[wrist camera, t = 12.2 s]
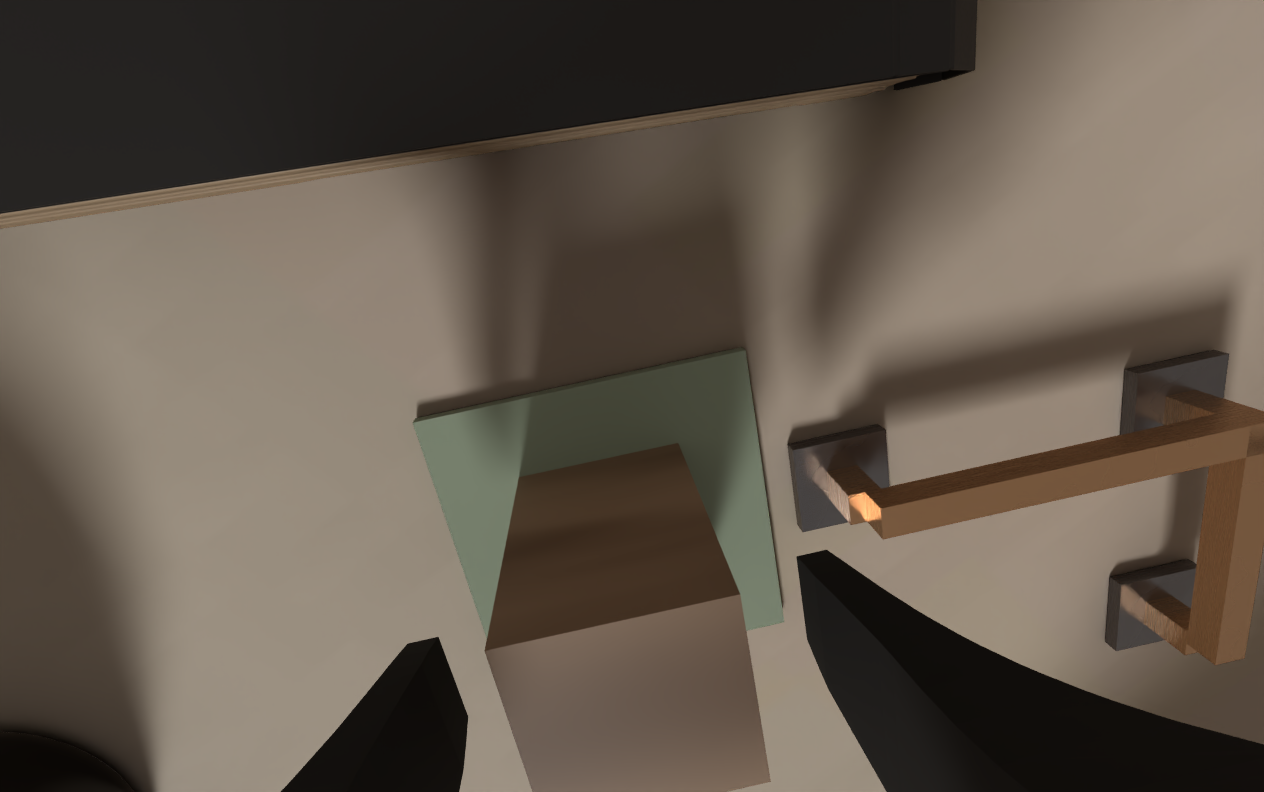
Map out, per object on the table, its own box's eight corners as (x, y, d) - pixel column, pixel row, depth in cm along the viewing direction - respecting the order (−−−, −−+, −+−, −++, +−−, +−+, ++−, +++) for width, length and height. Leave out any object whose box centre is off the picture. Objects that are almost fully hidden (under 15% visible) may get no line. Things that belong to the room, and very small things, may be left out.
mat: (780, 615, 17) (784, 621, 17) (504, 677, 17) (502, 685, 17) (742, 347, 15) (745, 350, 14) (415, 418, 15) (412, 422, 14)
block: (702, 577, 16) (770, 781, 11) (556, 609, 16) (546, 832, 11) (677, 442, 15) (740, 594, 9) (518, 477, 15) (484, 650, 9)
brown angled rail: (1180, 624, 19) (1267, 686, 16) (820, 707, 19) (856, 782, 16) (1213, 350, 16) (1324, 377, 14) (787, 444, 16) (825, 489, 13)
